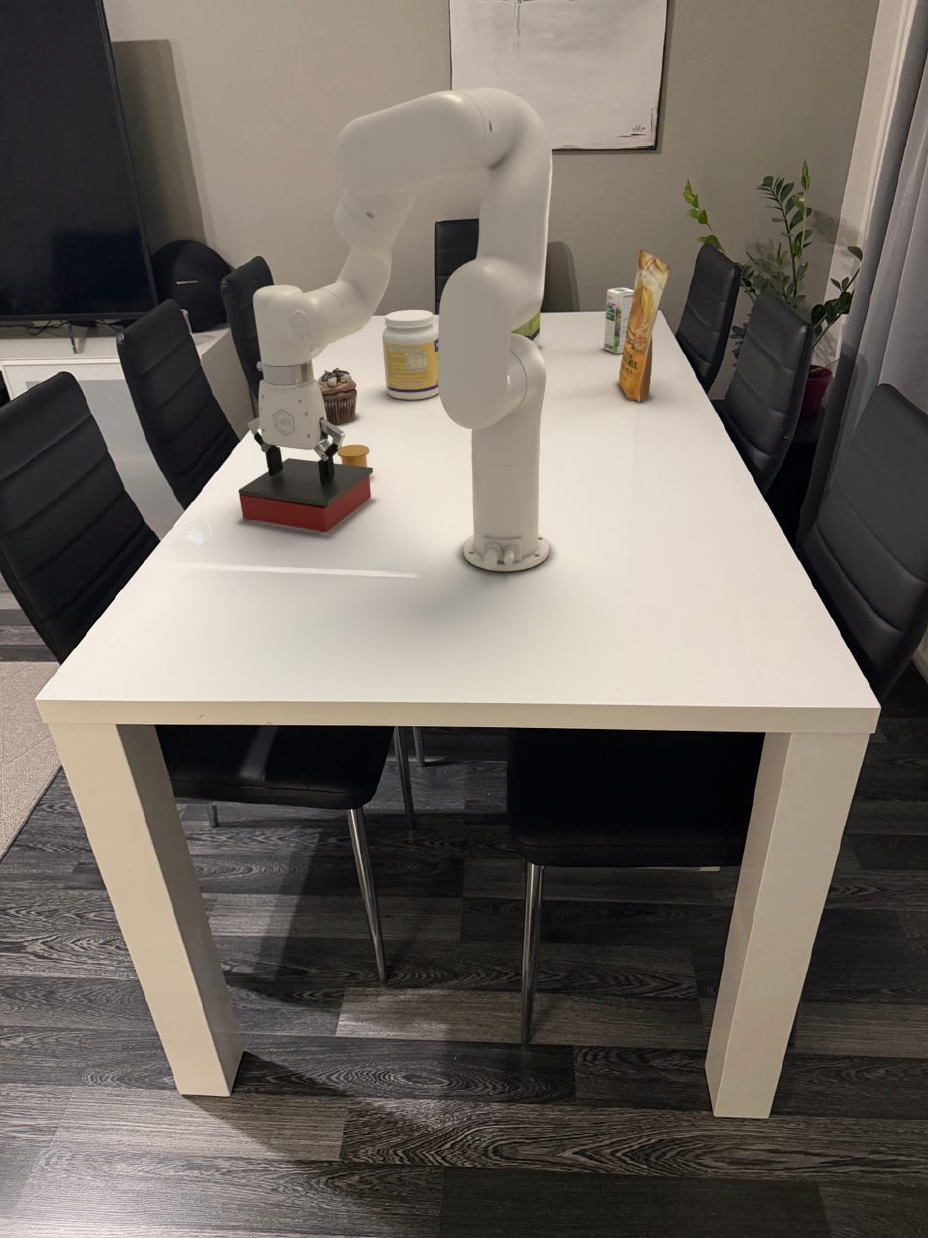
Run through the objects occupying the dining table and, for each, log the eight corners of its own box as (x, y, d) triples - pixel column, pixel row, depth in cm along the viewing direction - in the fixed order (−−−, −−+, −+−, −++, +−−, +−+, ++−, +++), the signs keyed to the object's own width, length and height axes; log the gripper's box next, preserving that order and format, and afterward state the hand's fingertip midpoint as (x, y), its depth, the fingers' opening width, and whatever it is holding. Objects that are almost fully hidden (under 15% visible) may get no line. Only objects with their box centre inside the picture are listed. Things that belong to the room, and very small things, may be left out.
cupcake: (336, 407, 197) (331, 361, 192) (368, 416, 192) (364, 368, 187) (303, 420, 191) (297, 372, 186) (335, 429, 186) (330, 380, 181)
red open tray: (371, 500, 154) (369, 474, 152) (326, 536, 143) (323, 508, 141) (292, 488, 160) (289, 462, 158) (243, 522, 149) (238, 494, 146)
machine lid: (373, 472, 151) (372, 467, 151) (327, 506, 140) (327, 501, 140) (289, 462, 158) (288, 457, 157) (239, 494, 146) (238, 489, 146)
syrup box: (602, 349, 231) (605, 289, 223) (622, 345, 233) (626, 286, 226) (615, 354, 226) (618, 293, 219) (635, 351, 229) (639, 290, 221)
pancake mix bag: (643, 377, 210) (653, 246, 195) (661, 403, 193) (673, 263, 179) (614, 378, 209) (621, 247, 195) (629, 405, 193) (638, 264, 179)
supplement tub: (449, 396, 202) (446, 317, 193) (396, 404, 198) (390, 324, 189) (430, 381, 212) (426, 306, 203) (379, 389, 208) (373, 312, 199)
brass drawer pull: (367, 485, 160) (364, 456, 157) (336, 484, 161) (333, 455, 158) (374, 473, 165) (372, 444, 162) (344, 472, 166) (341, 444, 163)
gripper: (226, 373, 140) (243, 478, 149) (324, 384, 134) (336, 493, 143) (254, 360, 146) (269, 462, 155) (350, 370, 140) (359, 475, 149)
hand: (301, 477), depth 149 cm, fingers open, 9 cm apart
